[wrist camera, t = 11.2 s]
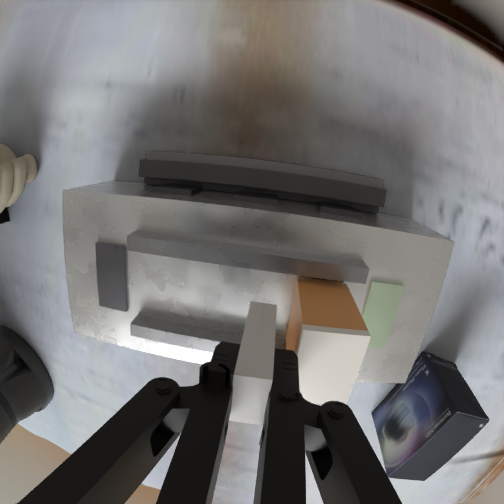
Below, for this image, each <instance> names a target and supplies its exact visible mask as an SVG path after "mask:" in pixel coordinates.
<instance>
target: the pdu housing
mask: <svg viewBox="0 0 504 504" xmlns="http://www.w3.org/2000/svg"><path fill="white" fill-rule="evenodd" d="M63 236H64V253H65V265H66V276H67V285H68V294H69V301H70V308H71V315H72V321H73V327H74V332H75V333H78V334H82V335H85V336H88V337H92V338H95V339H98V340H102V341H105V342H109V343H113V344H116V345H120V346H124V347H128V348H132V349H136V350H140V351H144V352H148V353H152V354H156V355H161V356H165V357H170V358H175V359H179V360H184V361H189V362H194V363H199V364H204V363H206V362H209V361H211V358H212V355H213V352H214V350H215V347H216V346H217V345H218V344H219V343H220V342H222V341H224V342H230V343H236V344H241V341H242V337H243V332H244V328H245V324H246V319H247V315H248V311H249V306H250V302H251V301H253V302H260V303H268V304H275V305H277V315H276V333H275V348H277V349H285V350H286V334H287V328H288V323H289V318H290V313H291V308H292V302H293V297H294V291H295V286H296V280H297V277H303V278H311V279H318V280H326V281H334V282H342V283H346V284H347V286H348V288H349V290H350V292H351V294H352V296H353V299H354V301H355V303H356V305H357V307H358V309H359V311H360V313H361V316H362V318H363V320H364V322H365V324H366V326H367V329H368V331H369V333H370V335H371V338H370V341H369V344H368V347H367V350H366V353H365V356H364V358H363V361H362V364H361V367H360V370H359V372H358V375H357V378H356V380H355V382H367V383H405V382H406V380H407V378H408V375H409V373H410V371H411V369H412V366H413V364H414V362H415V359H416V357H417V355H418V352H419V350H420V347H421V345H422V342H423V340H424V337H425V335H426V332H427V329H428V327H429V324H430V321H431V318H432V316H433V313H434V310H435V307H436V304H437V301H438V298H439V295H440V292H441V288H442V285H443V282H444V278H445V275H446V271H447V268H448V264H449V261H450V257H451V253H452V249H453V245H454V241H452V240H450V239H449V238H447V237H445V236H443V235H441V234H439V233H438V232H436V231H434V230H432V229H430V228H428V227H426V226H424V225H423V224H421V223H419V222H417V221H415V220H413V219H409V218H404V217H399V216H394V215H388V214H383V213H378V214H375V213H370V212H364V211H359V210H357V209H356V208H354V207H351V206H345V205H339V204H333V203H327V202H320V201H316V204H315V203H308V202H302V201H295V200H288V199H280V198H278V195H271V194H264V193H256V192H248V191H238V192H237V193H233V192H224V191H215V190H205V189H202V186H193V185H182V184H171V183H165V184H161V185H151V184H144V183H142V182H127V181H108V182H103V183H98V184H92V185H87V186H82V187H78V188H73V189H68V190H63Z"/></svg>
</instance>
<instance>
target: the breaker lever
mask: <svg viewBox="0 0 504 504" xmlns="http://www.w3.org/2000/svg"><path fill="white" fill-rule="evenodd" d="M370 338H371V335H370V333H369V331H368V329H367V326H366V324H365V322H364V320H363V318H362V316H361V313H360V311H359V309H358V307H357V305H356V303H355V301H354V299H353V296H352V294H351V292H350V290H349V288H348V286H347V284H346V283H342V282H334V281H326V280H318V279H311V278H303V277H297V280H296V286H295V291H294V297H293V302H292V308H291V313H290V318H289V323H288V328H287V334H286V350H293V351H294V352H295V353H296V355H297V356H298V366H299V370H298V371H299V388H300V393H301V394H302V396H303V398H304V399H305V400H307V401H308V402H310V403H315V404H324V403H325V402H328V401H339V402H342V403H344V404H346V403H347V401H348V398H349V396H350V393H351V391H352V388H353V385H354V383H355V380H356V378H357V375H358V372H359V370H360V367H361V364H362V361H363V358H364V356H365V353H366V350H367V347H368V344H369V341H370Z"/></svg>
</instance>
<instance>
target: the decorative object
mask: <svg viewBox="0 0 504 504" xmlns="http://www.w3.org/2000/svg"><path fill="white" fill-rule="evenodd" d="M36 176H37V165H36V161H35V158H34V157H33V155H31V154H25V155H23V156H22V157H18V158H16V156H15V154H14V153H13V151H12V150H11V149H10V148H9V147H7V146H6V145H4V144H1V143H0V224H2V223H5V222H8V221H10V220H9V215H8V211H7V207H9V206H11V205H12V204H13V203H14V202H16V201H17V199H18V198H19V197H20V195H21V194H22V192H23V190H24V187H25V183H31V182H33V181H34V180H35V178H36Z"/></svg>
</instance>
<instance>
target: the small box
mask: <svg viewBox="0 0 504 504" xmlns="http://www.w3.org/2000/svg"><path fill="white" fill-rule="evenodd" d="M372 417H373V420H374V424H375V428H376V432H377V436H378V440H379V443H380V447H381V452H382V456H383V460H384V465H385V469H386V474H387V476H388V477H390V478H397V479H409V480H420V481H425V480H426V479H427V478H428V477H430V476H431V475H432V474H433V473H435V472H436V471H437V470H438V469H439V468H441V467H442V466H443V465H444V464H445V463H446V462H448V461H449V460H450V459H451V458H452V457H453V456H454V455H455V454H456V453H458V452H459V451H460V450H461V449H462V448H463V447H464V446H465V445H466V444H467V443H468V442H469V441H470V440H471V439H472V438H473V437H474V436H475V435H476V434H477V433H478V432H479V431H480V430H481V429H482V428H483V427H484V426H485V425H486V424H487V423H488V422H489V418H488V416H487V415H486V414H485V412H484V411H483V409H482V407H481V406H480V404H479V402H478V401H477V399H476V397H475V396H474V394H473V393H472V391H471V389H470V388H469V386H468V384H467V383H466V381H465V380H464V378H463V377H462V375H461V374H460V372H459V371H458V369H457V366H456V364H454V363H452V362H449V361H446V360H443V359H441V358H439V357H436V356H435V355H433V354H429V353H426V352H422V353H421V355H420V356H419V357H418V359H417V360H416V361H415V363H414V364H413V366H412V369H411V371H410V373H409V375H408V378H407V380H406V382H405V383H398V384H397V385H396V386H395V387H394V388H393V390H392V391H391V392H390V393H389V394H388V395H387V397H386V398H385V399H384V400H383V401H382V402H381V403H380V404H379V406H378V407H377V408H376V409H375V410H374V411H373V412H372Z"/></svg>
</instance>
